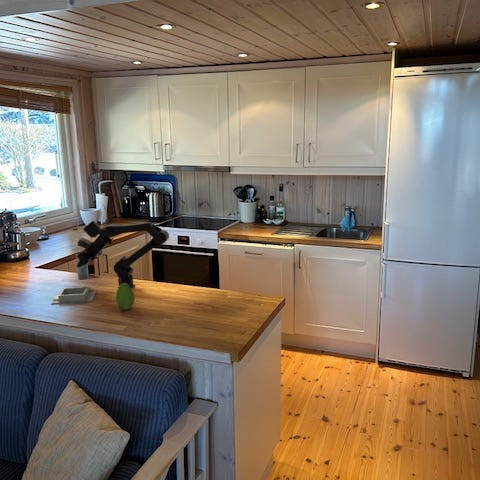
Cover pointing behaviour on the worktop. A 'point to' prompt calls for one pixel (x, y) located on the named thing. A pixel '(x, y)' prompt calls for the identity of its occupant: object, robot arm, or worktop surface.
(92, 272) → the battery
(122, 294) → the avocado
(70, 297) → the tray
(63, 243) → the worktop surface
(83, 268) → the big cell
